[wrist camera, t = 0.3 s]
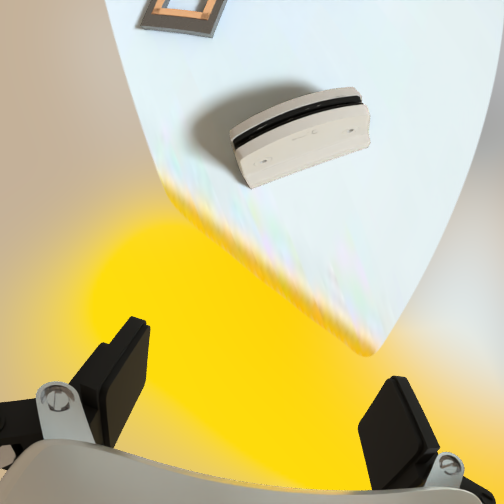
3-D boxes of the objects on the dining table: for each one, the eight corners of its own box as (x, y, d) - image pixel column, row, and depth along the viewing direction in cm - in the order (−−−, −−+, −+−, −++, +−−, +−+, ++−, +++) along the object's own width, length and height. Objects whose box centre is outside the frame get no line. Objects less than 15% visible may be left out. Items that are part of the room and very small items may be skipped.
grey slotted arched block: (248, 190, 39) (228, 168, 30) (236, 157, 40) (214, 128, 30) (371, 146, 37) (387, 113, 27) (355, 115, 37) (366, 75, 27)
